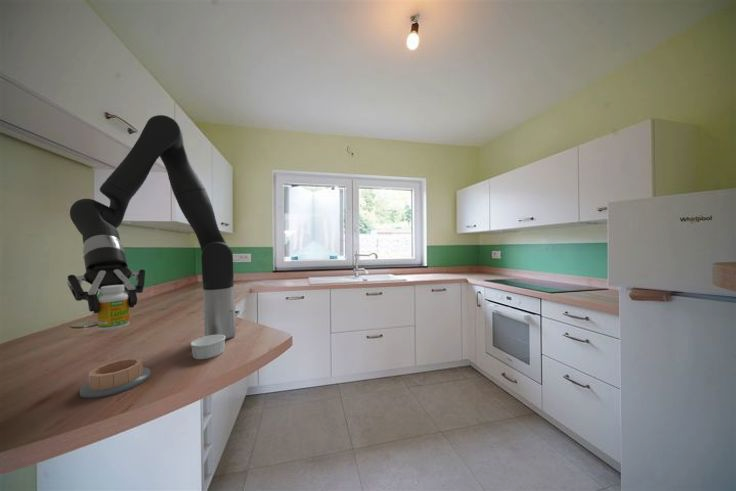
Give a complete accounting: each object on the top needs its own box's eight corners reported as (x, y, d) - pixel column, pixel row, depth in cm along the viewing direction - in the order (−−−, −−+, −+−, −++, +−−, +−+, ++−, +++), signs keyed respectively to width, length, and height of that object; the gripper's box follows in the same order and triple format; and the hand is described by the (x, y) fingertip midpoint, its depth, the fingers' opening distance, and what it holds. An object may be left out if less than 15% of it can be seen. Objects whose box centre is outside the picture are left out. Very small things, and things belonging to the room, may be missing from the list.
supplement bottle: (110, 331, 59) (108, 288, 58) (91, 330, 59) (89, 288, 59) (135, 323, 64) (134, 284, 64) (117, 322, 65) (116, 284, 65)
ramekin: (198, 363, 71) (197, 347, 71) (185, 356, 76) (185, 341, 76) (231, 352, 78) (230, 337, 78) (218, 345, 83) (217, 332, 83)
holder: (158, 367, 69) (157, 352, 69) (138, 390, 58) (137, 372, 58) (99, 377, 65) (98, 361, 65) (65, 404, 54) (64, 384, 54)
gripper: (62, 246, 60) (68, 304, 53) (143, 245, 72) (156, 292, 64) (62, 268, 64) (67, 325, 57) (139, 263, 75) (152, 311, 68)
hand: (115, 307), depth 60 cm, fingers closed on supplement bottle, 5 cm apart
